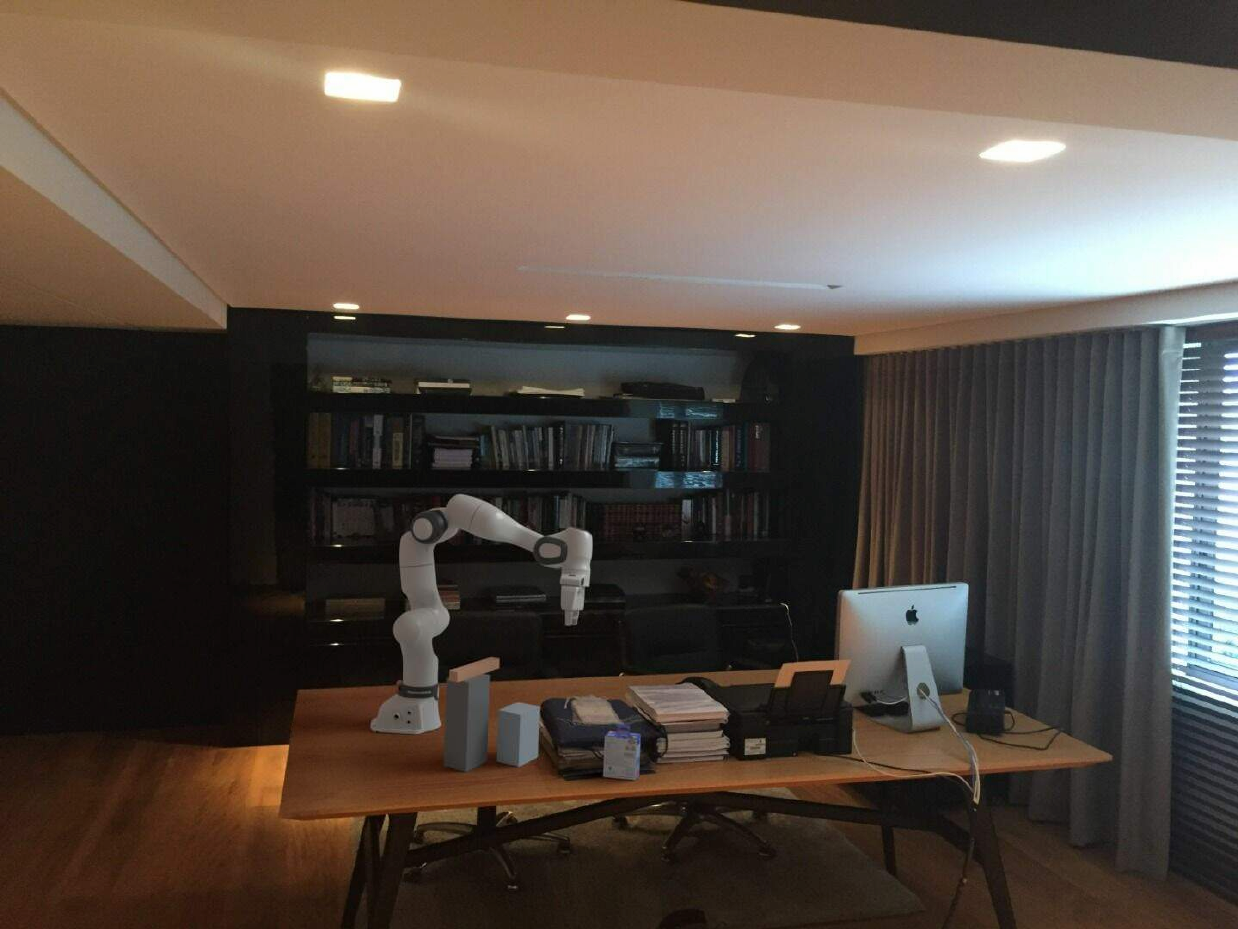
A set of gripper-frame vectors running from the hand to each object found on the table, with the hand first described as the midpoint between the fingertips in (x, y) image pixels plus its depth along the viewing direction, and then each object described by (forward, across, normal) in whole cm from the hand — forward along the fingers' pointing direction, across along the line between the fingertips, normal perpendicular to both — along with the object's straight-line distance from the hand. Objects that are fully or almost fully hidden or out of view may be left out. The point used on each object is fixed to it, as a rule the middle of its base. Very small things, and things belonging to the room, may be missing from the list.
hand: (570, 625), depth 304 cm
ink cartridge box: (+41, +10, +21) cm, 47 cm away
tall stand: (+43, +12, -25) cm, 51 cm away
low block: (+41, +4, -11) cm, 43 cm away
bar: (+16, +14, -25) cm, 33 cm away
